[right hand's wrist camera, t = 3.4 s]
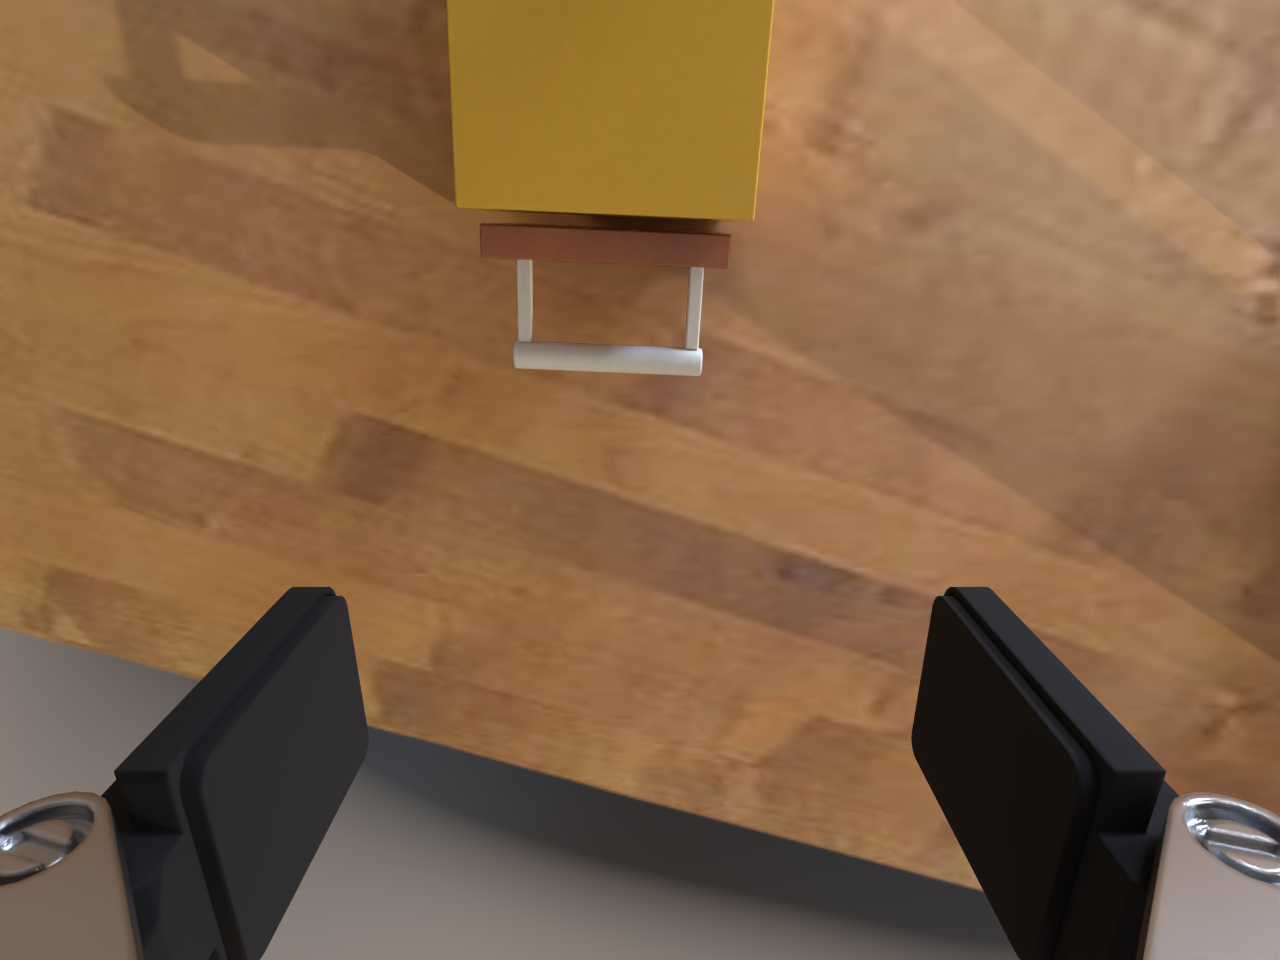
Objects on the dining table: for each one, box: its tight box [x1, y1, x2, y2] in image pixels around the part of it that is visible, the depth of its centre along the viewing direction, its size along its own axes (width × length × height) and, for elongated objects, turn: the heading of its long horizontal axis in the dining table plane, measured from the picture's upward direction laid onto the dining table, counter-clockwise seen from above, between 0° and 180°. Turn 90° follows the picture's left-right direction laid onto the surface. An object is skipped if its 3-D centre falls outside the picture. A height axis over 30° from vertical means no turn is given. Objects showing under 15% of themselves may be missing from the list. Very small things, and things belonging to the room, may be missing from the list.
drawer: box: [480, 223, 732, 376], centre depth 28 cm, size 20×9×9 cm, turn 178°
